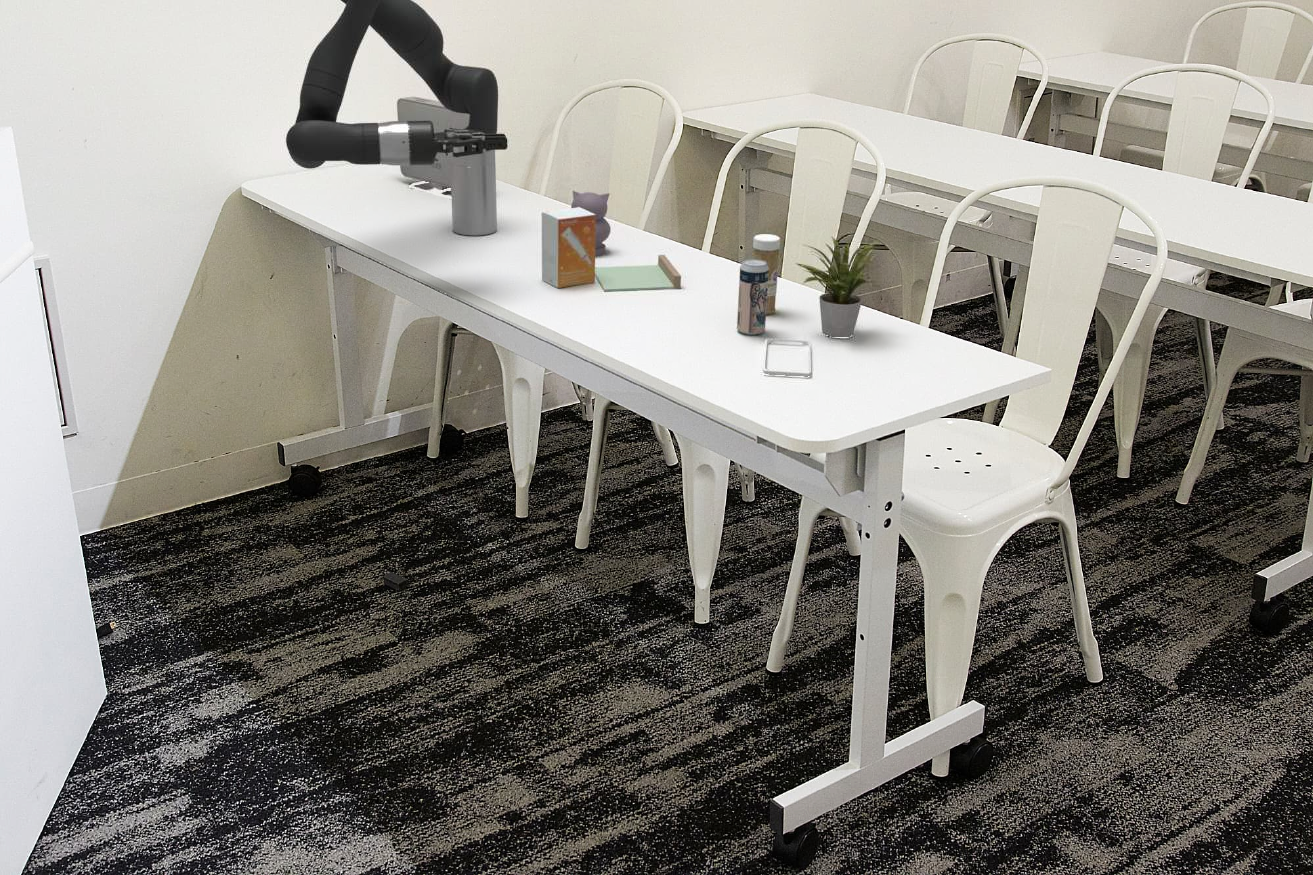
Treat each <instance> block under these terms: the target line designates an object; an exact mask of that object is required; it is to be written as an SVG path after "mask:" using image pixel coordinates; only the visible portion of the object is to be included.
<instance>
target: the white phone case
mask: <svg viewBox="0 0 1313 875" xmlns="http://www.w3.org/2000/svg"><path fill="white" fill-rule="evenodd" d="M774 342H782V343H783V342H785V343H786V342H787V343H789V342H790V343H801V346H802V345H807V346H808V347H809V351H808V371H806V372H805V371H803V372H802V371H788V370H773V369H766V361H767V349H768V348H767V346H768V345H770V344H769V343H773V344H774ZM767 344H768V345H767ZM811 345H812V344H811V342H810V340H797V339H783V338H782V339H779V338H766V339H765V341H764V352H763V354H764V355H763V364H762V365H763V368H762V374H763V373H765V374H769V375H785V376H804V377H808V376H810V375H812V351H811V349H812V348H811ZM807 346H806V347H807ZM808 347H807V348H808Z"/></svg>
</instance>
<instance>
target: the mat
mask: <svg viewBox="0 0 1313 875" xmlns="http://www.w3.org/2000/svg"><path fill="white" fill-rule="evenodd" d="M657 259H658V260H657V261H658V262H657V264H654V265H652V264H651V265H650V264H648V265H647V264H646V265H626V266H625V265H624V266H623V265H622V266H600V267H599V266H598V267H596V266H595V279H597V282H598V283H599V285H600V286H601V288H602V290H603V292H623V291H624V292H626V291H627V292H628V291H631V292H632V291H650V290H652V291H653V290H674V289H675V290H676V289H681V285H682V284H681V282H682V275H681V274H680V273H679V272H678V270H677V269H676V268H675V266H674V265H673V264H672V263H671V262H670V260H669V259H668V257H667V256H666V255H665V254H658V256H657Z"/></svg>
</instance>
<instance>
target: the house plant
mask: <svg viewBox="0 0 1313 875" xmlns="http://www.w3.org/2000/svg"><path fill="white" fill-rule="evenodd" d="M831 238H832V239H831V240H832V242H833V243H832V244H833V248H834V249H833V248H831V247H830V245H828V244H827V243H824V244H825V245H826V247H827V248H828V249H829V251H830V253H831V255H832V257H833V260H834V261H835V264H834V263H833V262H832V261H831V260H830V258H829V257H828V256H827V255H826V254H825V253H824V252H822V251H821V250H820V249H818V248H816V247H812V246H810V245H807V244H800V245H801V246H804V247H808V248H811V249H813V251H812V250H811V252H812V253H815V254H817V255H818V256H817V258H818V259H819V260H820V261H821V262H822V263H823V264H824V266H825V267H826V268H827V270H825V271H823V270H821V269H819V268H816V267H814V266H811V265H807V264H802V263H795V264H796V265H797V266H799V267H802V268H804V269H806V270H804V269H802V271H804V272H807V273H809V274H811V275H813V276H810V277H809V276H808V277H807V278H805V279H804V281H803V282H802V284H805V283H808V282H812V281H813V282H814V281H818V282H819V284H821V285H822V286H823V287H824V288H825V289H826V291H827V292H824V293H822V294H821V295H820V296H819V297H818V298H819V299H818V300H819V309H820V318H821V319H820V321H821V331H822V332H821V334H822V333H823V334H825V335H828V336H831V337H850V336H851V335H854V333H855V328H856V325H857V321H858V318H859V315H860V311H861V306H862V304H863V303H862V302H863V298H861V296H859V295H858V294H854V291H856V289H857V288H859V287H860V286H861V285H864V284H867V283H869V281H867V279H862V277H864V276H866V275H867V276H869V274H868V273H864V272H862V271H863V270H864V269H865V268H866V266H867V265H869V264H870V263H872V261H871V260H872V259H873V258H874V257H875V256H876V254H874V255H873V256H872V257H871V258H870V259H869V260H868V261H867V262H866V263H864V262H865V261H866V260H867V258H868V257H869V255H870V254H871V253H872V251H873V249H872V247H873V246H874V245H876V244H879V242H880V241H874V242H872V243H869V244H864V245H861V246H859V247H858V248H856V250H855V251H854V253H853V254H852V257H851V258H850V257H849V256H850V243H849V241H848V242H847V243H846V247H845V246H843V245H842V249H843V250H842V252H843V254H842V255H843V256H842V257H841V249H840V245H839V243H838V241H837V240H836V239H835V237H833V236H831ZM863 247H864V248H863ZM862 248H863V249H862ZM861 249H862V250H861ZM815 251H816V252H815ZM859 251H860V252H859ZM857 254H858V255H857ZM811 255H813V256H814V254H811ZM820 255H822V257H819V256H820ZM856 255H857V257H856ZM855 257H856V259H855ZM841 258H842V259H841ZM849 259H850V260H849ZM854 259H855V260H854ZM826 262H827V263H828V264H827V263H826ZM853 262H854V264H853V266H852V263H853ZM863 263H864V264H863ZM835 265H836V266H835ZM851 266H852V268H851ZM850 268H851V270H850ZM870 283H872V284H875V285H878V282H876V281H870ZM827 287H828V288H827ZM823 334H822V335H823ZM850 338H851V337H850Z"/></svg>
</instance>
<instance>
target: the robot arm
mask: <svg viewBox="0 0 1313 875" xmlns="http://www.w3.org/2000/svg"><path fill="white" fill-rule="evenodd" d="M340 1H341V2H342V3H344V4H345V6H344V9H343V10H342V12H341V14H340V16H339V17H338V19H337V21H336V22H335V24H334V25H332V27H331V29H330V30H329V31H328V32H327V33H326V35H325V36H324V37H323V38H322V39H321V41H320V42H319V43H318V45H317V46H316V47H315V49H314V50H313V52H312V54H311V56H310V58H309V60H308V63H307V67H306V71H305V74H304V78H303V82H302V84H301V89H300V94H299V109H298V112H297V115H296V119H295V123H294V124H293V125H292V126H291V127H290V128H289V130H287V134H286V137H285V144H286V148H287V150H288V154H289V156H290V158H291V160H292V161H293V162H294V163H295V164H296V165H297V166H300V167H301V168H304V169H316V168H320V167H321V166H322V165H324V163H325V162H348V163H349V164H352V165H364V166H365V165H386V166H400V165H433V164H434V163H435V154H436V153H437V152H438V153H446V156H450V171H451V191H450V195H451V197H452V199H451V219H452V220H451V221H452V231H453V232H454V233H456V234H459V235H461V236H462V235H463V236H486V235H491V234H493V233H495V232H497V230H498V220H497V219H498V216H497V215H498V213H497V212H498V210H497V209H498V208H497V207H498V206H497V175H496V174H497V173H496V171H497V170H496V151H498V150H501V151H502V150H503V151H505V150H507V149H508V148H509V147H508V146H509V145H508V138H507V136H506V134H505V133H498V116H499V114H498V111H499V86H498V81H497V80H498V79H497V78H496V76H495V73H494V72H493V71H492V70H490V69H489V68H485V67H479V66H478V67H477V66H467V65H460V64H457V63H455V62H453V61H452V60H450V59H449V58H448V57H447V56H446V55H445V53H444V52H443V51H444V35H443V33H442V30H441V28H440V26H439V25H438V24H437V23H436V21H435V20H434V19H433V18H432V17H431V16H430V15H429V14H428V12H427V11H426V10H425V9H424V8H423V7H421V5H420V4H418V3H417V2H415V1H414V0H340ZM369 27H370V28H371V29H372V30H373V31H374V32H376V33H377V35H379V37H381V38H382V39H383V40H384V41H385V43H386V44H387V45H388V46H389V47H390V48H391V49H392V50H393V51H394V52H395V53H396V54H397V55H398V56H399V57H400V58H401V59H402V60H404V61H405V62H406V63H407V64H408V66H410V67H411V68H412V70H413V71H414V72H415V73H416V74H417V75H418V76H419V77H420V78H421V79H422V80H423V81H424V83H425V84H426V85H427V86H428V88H429V89H430V91H431V92H432V93H433V94H434V97H436V98H437V101H439V102H441V104H442V105H443V106H444V107H445V108H447V109H448V110H450V111H453V112H457V113H465V114H470V117H469V125H468V126H467V127H466V128H464V129H453V128H450V129H444V132H439V133H434V126H433V123H432V121H398V120H390V121H383V122H359V123H358V122H357V123H347V122H338V121H337V120H338V114H339V112H340V108H341V107H342V104H343V101H344V100H343V99H344V96H345V92H346V89H347V86H348V81H349V79H350V74H351V70H352V68H353V64H354V61H355V59H356V55H357V54H358V52H359V49H360V46H361V44H362V41H363V39H364V38H365V35H366V33H367V31H368V29H369Z"/></svg>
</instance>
